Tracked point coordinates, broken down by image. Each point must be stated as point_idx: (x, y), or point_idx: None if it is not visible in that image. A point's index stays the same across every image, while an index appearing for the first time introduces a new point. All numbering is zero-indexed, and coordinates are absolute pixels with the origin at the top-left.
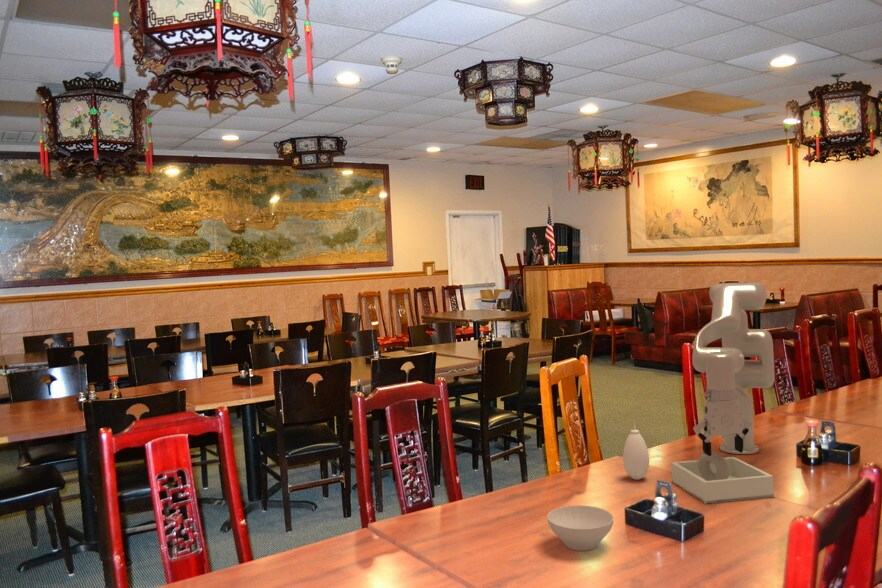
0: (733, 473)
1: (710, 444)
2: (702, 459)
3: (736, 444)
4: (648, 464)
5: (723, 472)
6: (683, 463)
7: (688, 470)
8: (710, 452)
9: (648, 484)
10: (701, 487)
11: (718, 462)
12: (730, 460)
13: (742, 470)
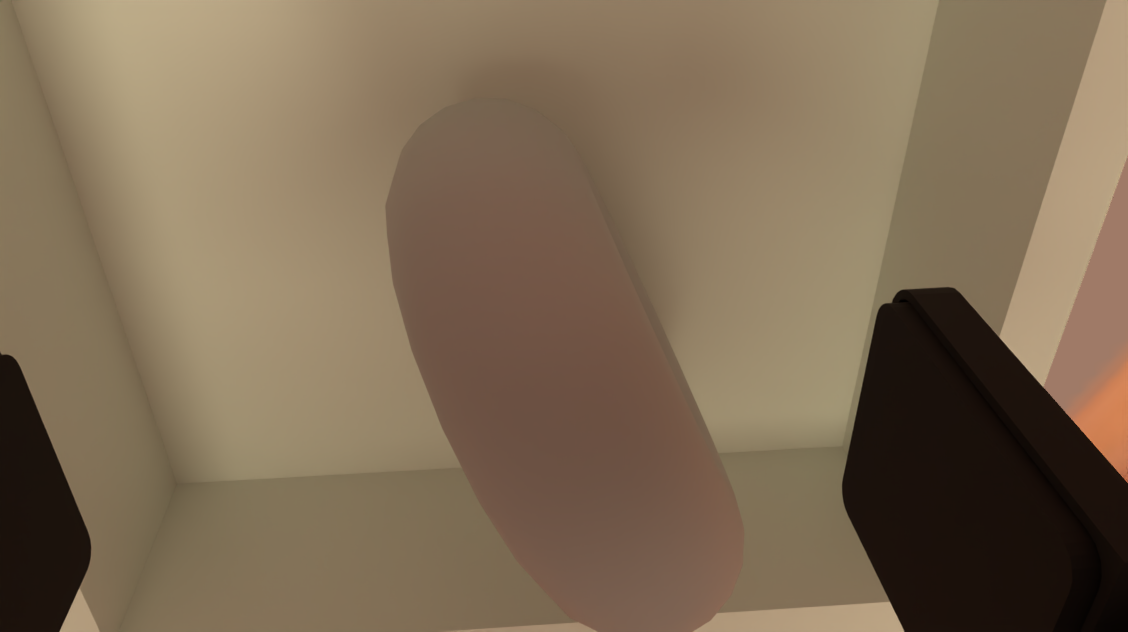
0: (166, 486)
1: (1083, 506)
2: (735, 505)
3: (1, 619)
4: None
5: (527, 126)
6: (820, 597)
7: (1006, 327)
8: (959, 330)
9: (1118, 438)
10: None
11: (601, 273)
12: (146, 626)
13: (69, 389)
